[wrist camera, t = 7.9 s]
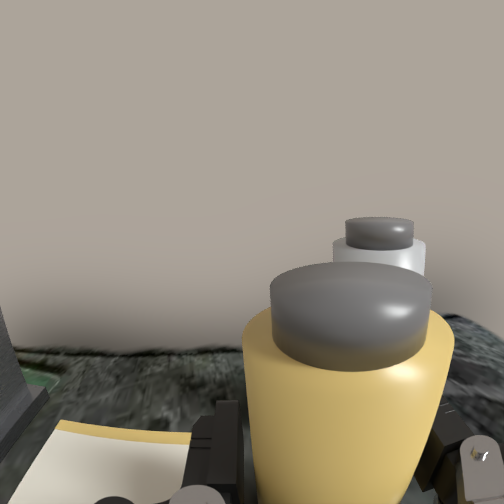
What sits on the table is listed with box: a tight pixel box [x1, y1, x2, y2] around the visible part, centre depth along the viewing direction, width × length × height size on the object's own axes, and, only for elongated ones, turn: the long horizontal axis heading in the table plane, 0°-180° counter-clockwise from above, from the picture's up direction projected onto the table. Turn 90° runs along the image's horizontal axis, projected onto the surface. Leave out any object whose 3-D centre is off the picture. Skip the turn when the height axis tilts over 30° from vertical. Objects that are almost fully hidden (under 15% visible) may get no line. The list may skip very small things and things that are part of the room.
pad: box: [8, 420, 192, 504], centre depth 11 cm, size 10×10×1 cm
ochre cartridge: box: [242, 262, 454, 504], centre depth 7 cm, size 4×4×12 cm
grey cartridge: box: [333, 217, 426, 276], centre depth 15 cm, size 4×4×12 cm
